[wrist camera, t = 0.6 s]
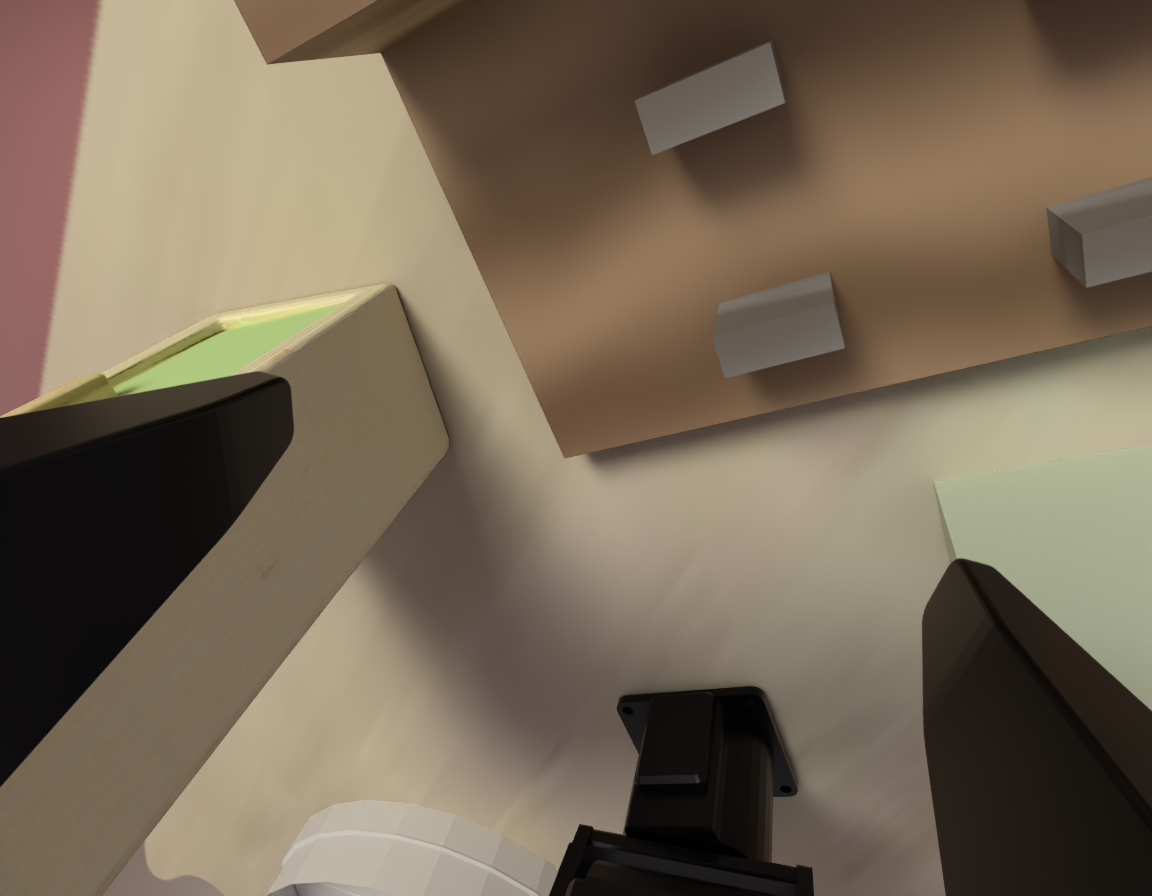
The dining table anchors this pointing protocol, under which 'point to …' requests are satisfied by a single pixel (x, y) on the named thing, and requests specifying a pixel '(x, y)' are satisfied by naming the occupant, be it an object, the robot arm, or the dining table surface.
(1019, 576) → the door panel
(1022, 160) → the cabinet base
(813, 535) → the dining table surface
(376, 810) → the dish
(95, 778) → the toy refrigerator
